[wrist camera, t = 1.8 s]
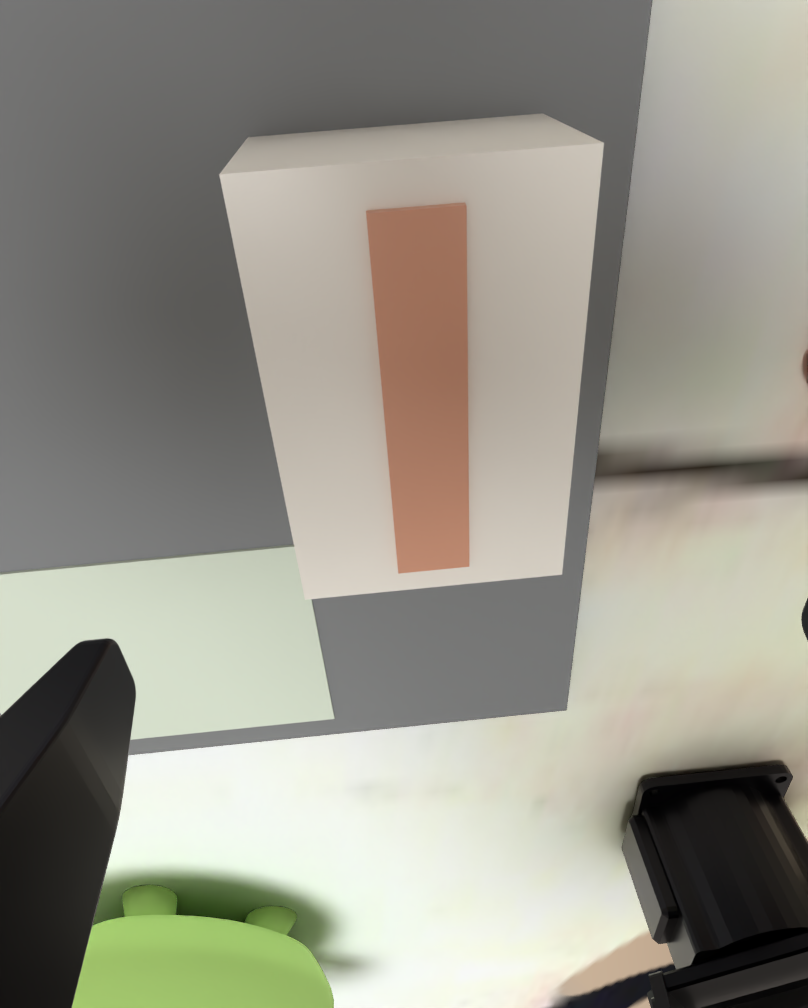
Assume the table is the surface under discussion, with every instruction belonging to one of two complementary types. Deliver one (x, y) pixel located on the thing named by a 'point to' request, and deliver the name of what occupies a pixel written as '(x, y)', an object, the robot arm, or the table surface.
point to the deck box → (420, 341)
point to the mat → (248, 355)
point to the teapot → (197, 959)
